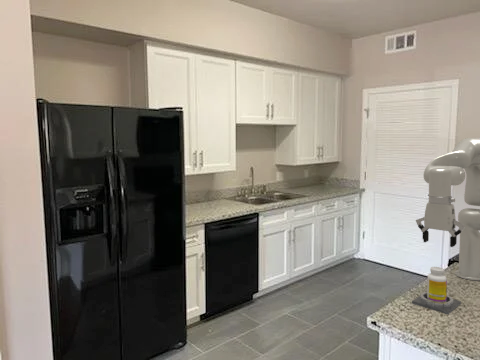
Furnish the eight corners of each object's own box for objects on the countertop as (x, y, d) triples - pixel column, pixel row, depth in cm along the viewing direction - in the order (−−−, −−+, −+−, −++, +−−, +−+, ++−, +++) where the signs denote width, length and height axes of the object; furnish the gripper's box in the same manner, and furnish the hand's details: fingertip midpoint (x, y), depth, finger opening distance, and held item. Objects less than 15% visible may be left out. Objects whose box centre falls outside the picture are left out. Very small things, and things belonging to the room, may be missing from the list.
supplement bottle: (449, 305, 137) (449, 271, 136) (429, 304, 139) (430, 271, 138) (443, 298, 144) (443, 266, 143) (424, 297, 145) (425, 265, 144)
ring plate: (426, 294, 150) (426, 288, 150) (461, 303, 141) (461, 297, 140) (411, 303, 142) (412, 297, 142) (448, 314, 132) (448, 307, 132)
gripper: (468, 201, 135) (467, 246, 137) (420, 197, 148) (420, 238, 150) (461, 203, 131) (460, 250, 132) (412, 199, 143) (412, 241, 145)
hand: (438, 243), depth 141 cm, fingers open, 9 cm apart
